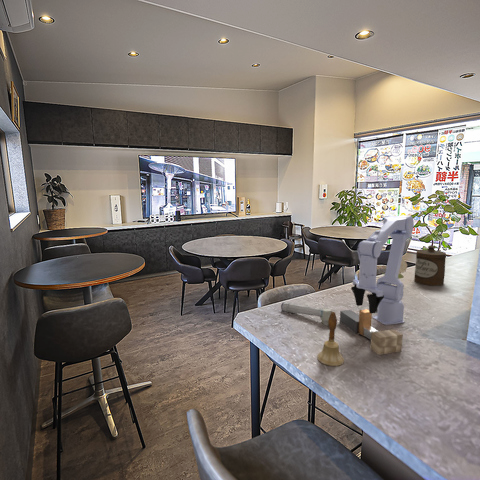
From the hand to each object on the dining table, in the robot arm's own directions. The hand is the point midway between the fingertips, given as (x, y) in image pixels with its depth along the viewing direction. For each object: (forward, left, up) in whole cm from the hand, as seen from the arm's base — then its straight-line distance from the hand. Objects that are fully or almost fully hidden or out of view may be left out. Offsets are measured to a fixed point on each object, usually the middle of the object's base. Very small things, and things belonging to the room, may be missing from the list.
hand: (365, 309), depth 111 cm
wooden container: (-79, -48, -10) cm, 93 cm away
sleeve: (0, -7, -10) cm, 13 cm away
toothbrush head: (+13, -21, -11) cm, 27 cm away
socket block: (0, +11, -10) cm, 15 cm away
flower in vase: (-26, -19, -10) cm, 34 cm away
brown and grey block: (0, -3, -10) cm, 11 cm away
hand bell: (+21, +11, -10) cm, 26 cm away
